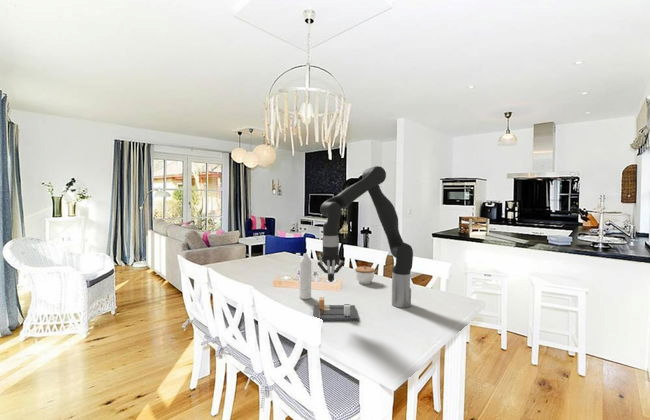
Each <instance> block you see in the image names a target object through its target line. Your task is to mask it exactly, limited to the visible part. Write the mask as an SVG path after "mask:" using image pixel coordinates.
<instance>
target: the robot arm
mask: <svg viewBox="0 0 650 420" xmlns="http://www.w3.org/2000/svg"><path fill="white" fill-rule="evenodd" d="M361 177H362V179H360V180H359V181H357V182H355V183H353V184H352V185H350V186H347V187H346V188H345V189H343V190H342V191H341V192H339V193H338V194H337V195H335V196H333V197H330V198H328V199H327V200H325V201H324V202H323V203H322V204H321V205H320V209H319V211H320V214H321V215H322V216H323V217H326V218H327V221H326V222H325V223H323V225H322V257H321V260H319V261H317V266H318V267H319V268H320V269H321V271H322V272H323V273H324V274H327V280H328V282H329V283H333V282H334V281H335V274H338V273H339V271H340V270H341V268H343V266H344V265H345V262H344V260H341V258H340V252H339V251H340V247H339V246H340V240H339V225H340V220H341V216H342V209H343V208H346V207H348V206H350V205H351V204H352V203H353V202H354V201H356V200H357V199H358V198H360V197H361V196H362V195H364V194H365V193H367V192H368V194H369V195H370V199H371V200H372V203H373V205H374V208H375V210H376V213H377V216H378V219H379V221H380V223H381V227H382V229H383V231H384V234H385V236H386V239H387V242H388V246H389V250H390V253H391V255H392V256H393V257H394V258H395V264H394V266H392V272H391V273H392V274H391V275H392V276H391V281H392V283H391V305H392V306H393V307H396V308H400V309H401V308H402V309H403V308H408V307H409V308H410V307H412V287H411V272H412V268H413V260H414V249H413V247H412V246H411V245H410V244H409V243H407V242H404V240H403V238H402V236H401V234H400V230H399V217H398V214H397V211H396V208H395V206H394V204H393V203H392V202H391V201H390V200H389V198H387V197H386V195H385V194H384V193H383V192H382V189H381V187H380V185H381V184H382V183H383V182H385V181H386V178H387V172H386V170H385V169H384V167H382V166H377V165H375V166H373V167H369V168H366V169H364V170H363V172H362V175H361ZM325 266H326V267H325ZM336 266H337V267H336ZM335 267H336V268H335ZM326 268H327V269H326Z"/></svg>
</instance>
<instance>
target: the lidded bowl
mask: <svg viewBox="0 0 650 420" xmlns="http://www.w3.org/2000/svg"><path fill="white" fill-rule="evenodd" d="M354 270H355V277H356V280H357V281H358V283H360V284H361V285H368V284H371V283H372V281H373V280H374V278H375V268H374V267H371V266H366V265H363V266H356V267H355V269H354Z"/></svg>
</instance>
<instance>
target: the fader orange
mask: <svg viewBox="0 0 650 420" xmlns="http://www.w3.org/2000/svg"><path fill="white" fill-rule="evenodd" d="M318 299H319V301H318V305H319V309H324V305H325V297H324V296H323V297H320V296H319V298H318Z"/></svg>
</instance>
